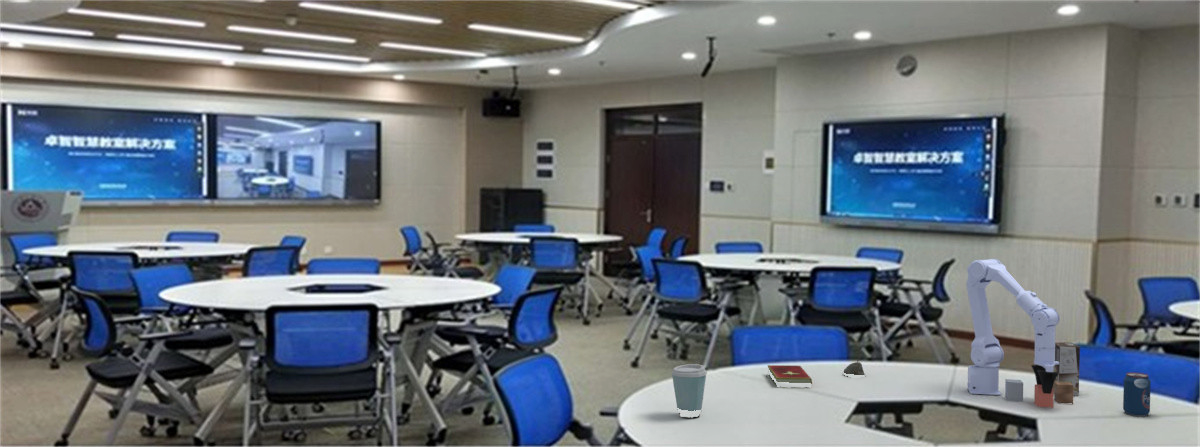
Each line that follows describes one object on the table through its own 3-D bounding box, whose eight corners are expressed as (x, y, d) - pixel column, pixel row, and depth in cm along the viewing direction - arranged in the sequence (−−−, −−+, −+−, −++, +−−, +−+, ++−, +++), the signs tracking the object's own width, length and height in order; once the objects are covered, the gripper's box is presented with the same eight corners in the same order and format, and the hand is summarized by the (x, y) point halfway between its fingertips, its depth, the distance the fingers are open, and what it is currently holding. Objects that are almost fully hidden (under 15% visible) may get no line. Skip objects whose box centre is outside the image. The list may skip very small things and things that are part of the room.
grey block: (1007, 400, 290) (1008, 382, 290) (1005, 397, 295) (1005, 379, 295) (1023, 401, 289) (1023, 382, 289) (1020, 398, 294) (1020, 379, 293)
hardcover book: (800, 376, 330) (801, 364, 329) (812, 389, 309) (812, 377, 308) (767, 376, 330) (767, 364, 330) (776, 389, 309) (776, 377, 309)
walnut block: (1057, 403, 287) (1057, 384, 287) (1054, 400, 291) (1054, 381, 291) (1073, 404, 286) (1073, 385, 285) (1069, 400, 290) (1069, 382, 290)
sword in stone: (838, 373, 333) (839, 340, 333) (859, 373, 334) (860, 341, 333) (848, 379, 323) (849, 345, 323) (869, 379, 324) (871, 346, 323)
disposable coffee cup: (683, 422, 266) (683, 371, 265) (664, 414, 275) (664, 364, 274) (713, 417, 271) (714, 367, 270) (693, 409, 280) (693, 361, 279)
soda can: (1149, 418, 269) (1150, 377, 268) (1122, 414, 272) (1123, 375, 272) (1149, 412, 275) (1151, 373, 274) (1123, 410, 278) (1124, 371, 278)
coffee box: (1079, 396, 296) (1080, 346, 295) (1058, 395, 297) (1059, 346, 297) (1071, 389, 305) (1072, 342, 304) (1050, 389, 306) (1051, 341, 306)
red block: (1037, 406, 283) (1037, 387, 283) (1034, 403, 287) (1034, 384, 287) (1053, 407, 282) (1053, 388, 281) (1049, 404, 286) (1050, 385, 286)
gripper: (1064, 352, 276) (1063, 396, 276) (1053, 343, 290) (1052, 386, 290) (1039, 351, 277) (1038, 395, 278) (1029, 343, 291) (1028, 385, 292)
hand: (1044, 390), depth 284 cm, fingers open, 7 cm apart
